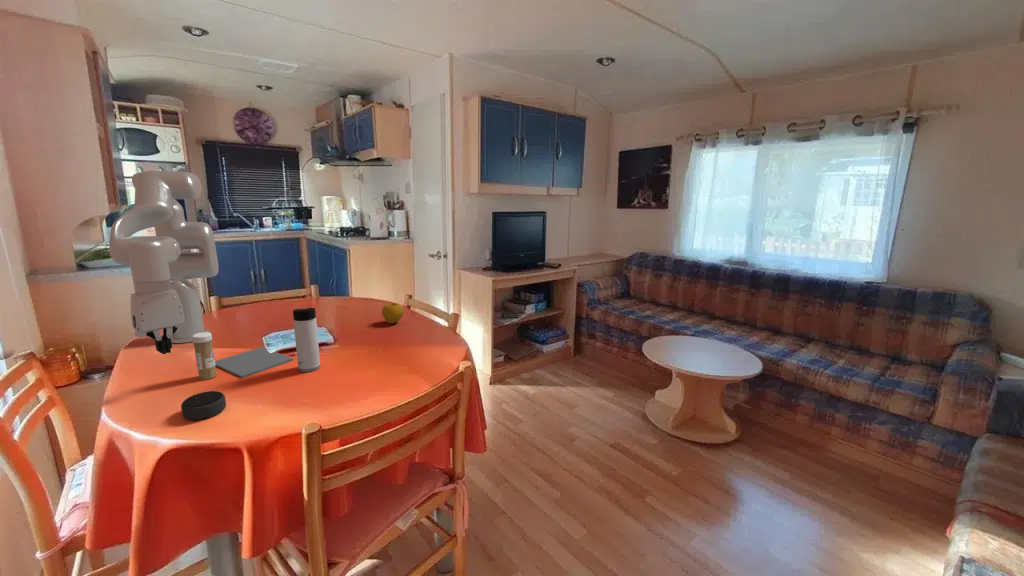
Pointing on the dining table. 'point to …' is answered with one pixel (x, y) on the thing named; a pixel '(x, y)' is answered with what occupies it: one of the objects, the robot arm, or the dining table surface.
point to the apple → (392, 312)
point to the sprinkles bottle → (204, 355)
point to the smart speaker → (203, 405)
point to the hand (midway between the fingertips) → (165, 352)
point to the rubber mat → (252, 362)
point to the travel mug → (306, 339)
